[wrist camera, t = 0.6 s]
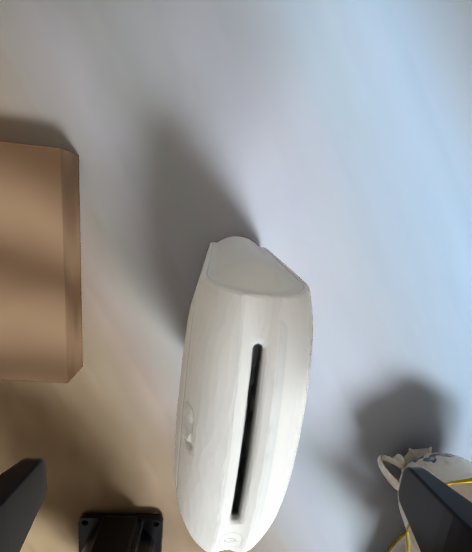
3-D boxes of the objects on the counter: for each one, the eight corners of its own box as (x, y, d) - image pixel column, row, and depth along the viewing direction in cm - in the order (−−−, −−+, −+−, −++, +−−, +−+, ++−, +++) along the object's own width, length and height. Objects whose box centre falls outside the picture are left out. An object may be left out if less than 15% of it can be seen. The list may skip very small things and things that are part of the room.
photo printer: (251, 378, 21) (293, 604, 9) (193, 373, 21) (154, 602, 9) (271, 239, 19) (362, 288, 7) (206, 232, 18) (178, 269, 6)
